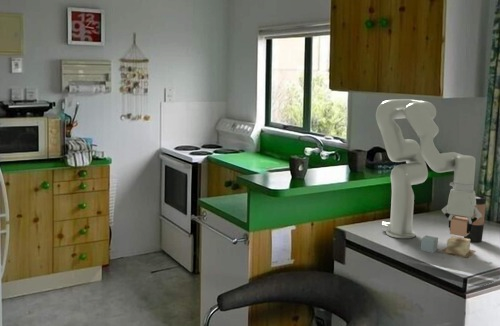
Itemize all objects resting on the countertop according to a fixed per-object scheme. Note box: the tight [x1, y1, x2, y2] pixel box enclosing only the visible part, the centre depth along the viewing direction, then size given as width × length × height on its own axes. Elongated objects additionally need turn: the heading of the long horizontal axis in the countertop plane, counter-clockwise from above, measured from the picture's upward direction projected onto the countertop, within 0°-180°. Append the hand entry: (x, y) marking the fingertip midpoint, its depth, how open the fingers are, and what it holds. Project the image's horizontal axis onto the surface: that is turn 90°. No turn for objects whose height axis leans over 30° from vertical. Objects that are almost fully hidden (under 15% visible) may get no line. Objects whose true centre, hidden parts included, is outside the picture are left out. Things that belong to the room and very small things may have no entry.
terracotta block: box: [449, 215, 468, 238], centre depth 228 cm, size 6×6×6 cm
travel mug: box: [463, 195, 487, 244], centre depth 243 cm, size 8×8×20 cm
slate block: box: [420, 235, 439, 254], centre depth 231 cm, size 5×5×6 cm
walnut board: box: [439, 246, 476, 259], centre depth 230 cm, size 11×11×1 cm
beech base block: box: [446, 235, 471, 256], centre depth 229 cm, size 7×7×5 cm
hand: (460, 230), depth 228 cm, fingers closed on terracotta block, 6 cm apart
